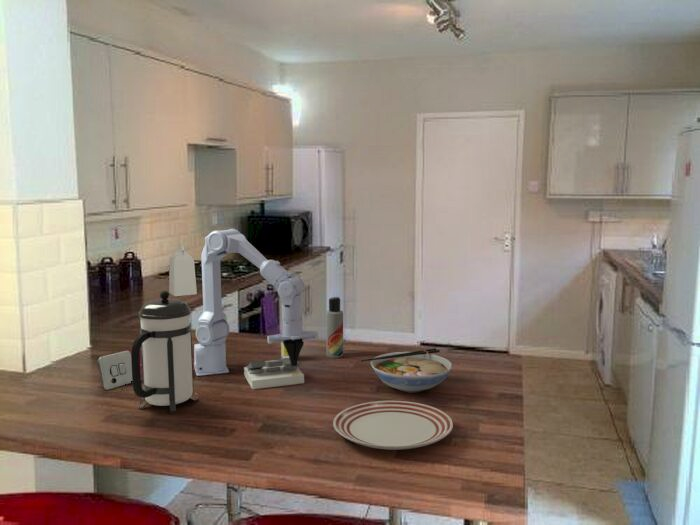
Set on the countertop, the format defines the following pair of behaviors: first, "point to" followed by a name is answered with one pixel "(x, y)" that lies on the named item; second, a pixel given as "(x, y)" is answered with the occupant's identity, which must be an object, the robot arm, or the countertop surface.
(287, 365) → the rocker right
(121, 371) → the electrical switch
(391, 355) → the ramen bowl
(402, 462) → the countertop surface
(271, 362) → the rocker middle
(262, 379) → the switch unit
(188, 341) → the coffee press
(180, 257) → the milk
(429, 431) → the dinner plate
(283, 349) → the supplement bottle
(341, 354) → the lotion bottle
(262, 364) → the panel
